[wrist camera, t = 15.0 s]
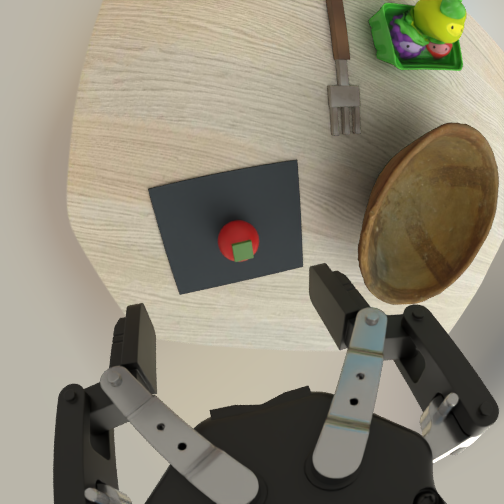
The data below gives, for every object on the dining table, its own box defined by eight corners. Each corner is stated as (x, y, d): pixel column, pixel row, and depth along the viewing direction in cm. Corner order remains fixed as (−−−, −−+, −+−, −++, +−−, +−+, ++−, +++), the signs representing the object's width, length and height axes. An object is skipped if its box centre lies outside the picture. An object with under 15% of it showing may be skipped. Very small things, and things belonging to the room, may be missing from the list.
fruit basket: (369, 70, 27) (439, 74, 18) (353, 0, 23) (419, -20, 13) (436, 68, 28) (503, 77, 19) (424, 7, 23) (490, 2, 14)
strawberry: (218, 252, 35) (225, 274, 31) (211, 218, 33) (217, 238, 29) (255, 243, 36) (266, 264, 32) (250, 209, 33) (262, 227, 30)
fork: (358, 132, 31) (363, 134, 30) (330, 134, 31) (335, 136, 30) (341, -25, 21) (346, -27, 20) (311, -28, 20) (316, -32, 19)
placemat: (179, 293, 37) (179, 294, 37) (148, 188, 30) (148, 189, 30) (302, 265, 39) (303, 266, 39) (296, 159, 32) (297, 160, 31)
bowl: (290, 162, 32) (331, 193, 23) (433, 87, 30) (491, 99, 21) (350, 289, 43) (383, 335, 35) (458, 214, 41) (500, 243, 33)
